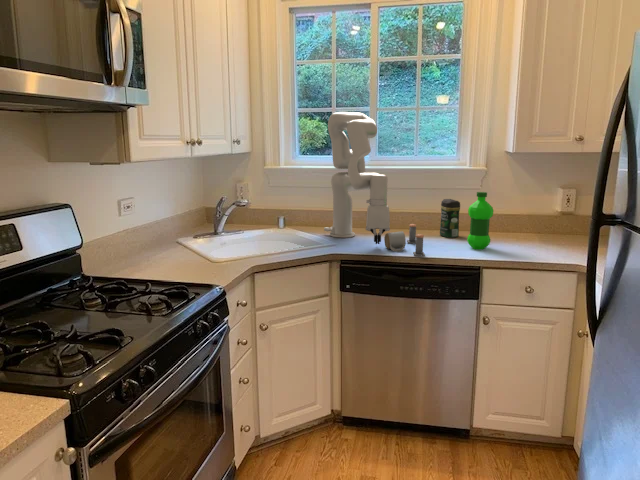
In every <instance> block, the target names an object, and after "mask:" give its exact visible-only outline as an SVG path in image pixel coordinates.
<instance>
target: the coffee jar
mask: <svg viewBox="0 0 640 480" xmlns="http://www.w3.org/2000/svg"><path fill="white" fill-rule="evenodd" d="M440 211H441V213H440V227H439V236H442V237H444V238H451V239H453V238H454V239H456V238H458V237H459V235H460V234H459V233H460V229H459V228H460V226H459V225H460V211H461V202H460V201H459V200H456V199H453V198H443V200H441V204H440Z"/></svg>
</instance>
